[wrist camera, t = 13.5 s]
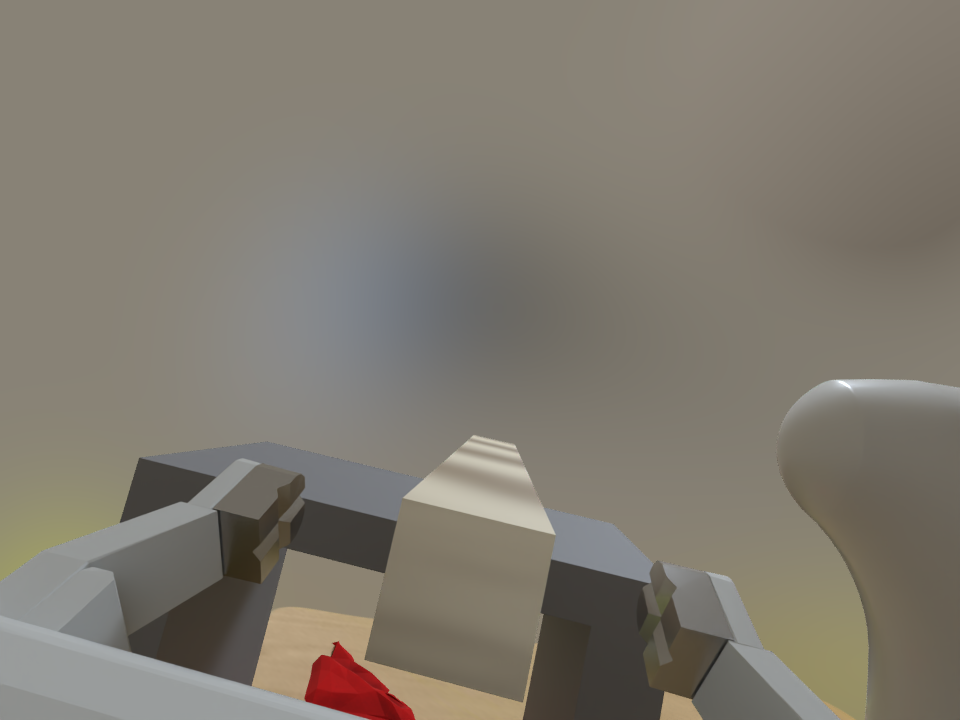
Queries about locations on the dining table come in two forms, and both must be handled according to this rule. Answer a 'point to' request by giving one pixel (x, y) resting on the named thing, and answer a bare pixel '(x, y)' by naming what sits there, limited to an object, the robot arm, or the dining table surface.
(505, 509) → the maple bar
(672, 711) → the dining table surface
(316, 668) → the cloth
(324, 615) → the dining table surface
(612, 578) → the grey arch
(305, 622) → the dining table surface
